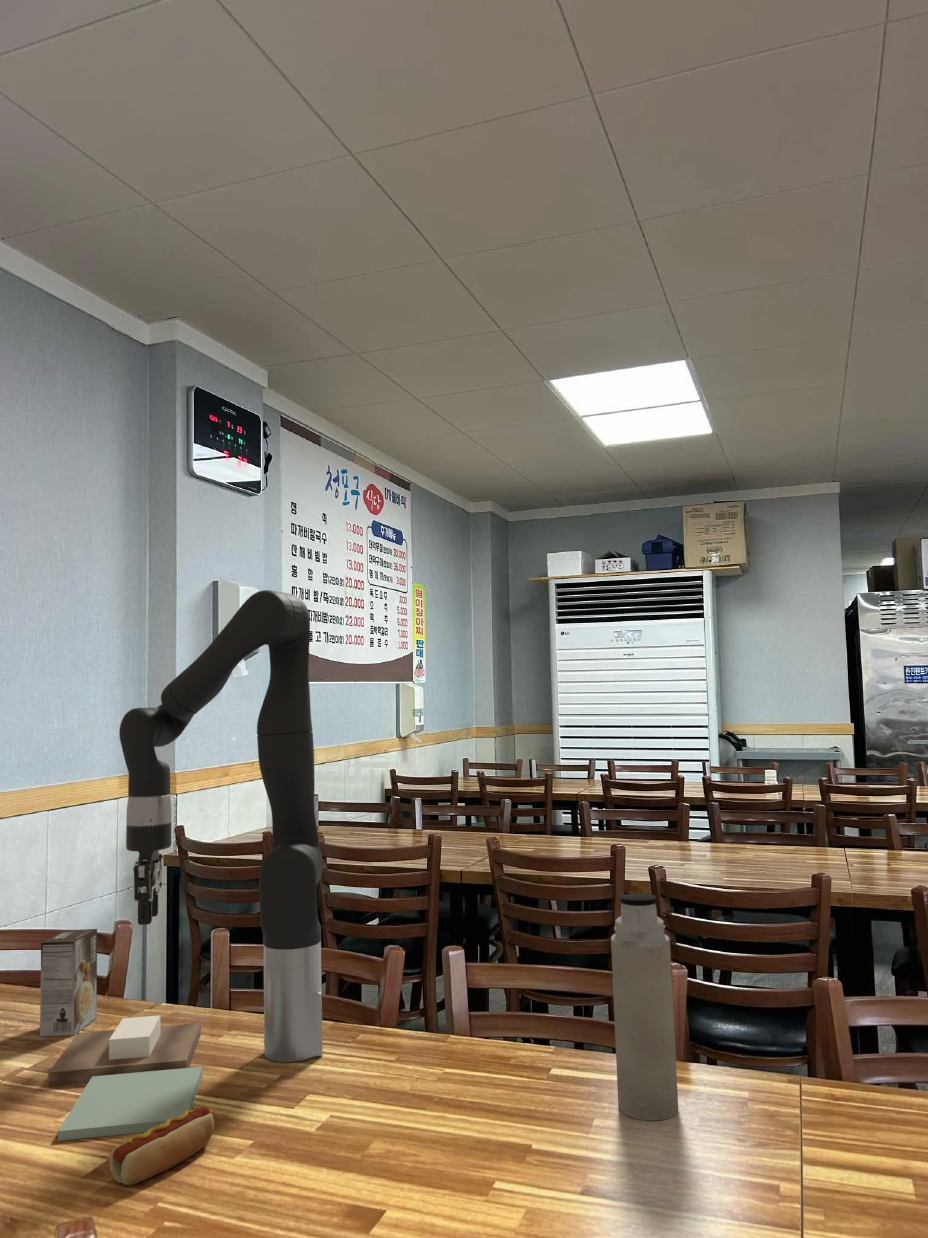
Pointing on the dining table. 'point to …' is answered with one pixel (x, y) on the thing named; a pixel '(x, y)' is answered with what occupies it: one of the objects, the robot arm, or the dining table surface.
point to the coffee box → (68, 982)
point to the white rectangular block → (134, 1037)
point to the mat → (131, 1102)
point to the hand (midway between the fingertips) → (148, 919)
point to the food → (161, 1146)
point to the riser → (93, 1059)
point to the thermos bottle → (643, 1011)
